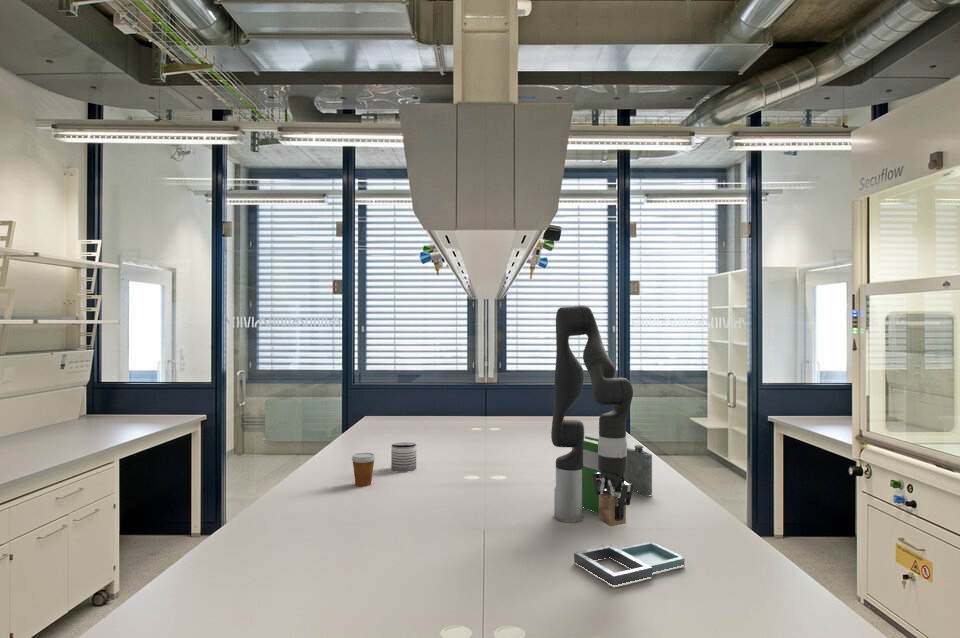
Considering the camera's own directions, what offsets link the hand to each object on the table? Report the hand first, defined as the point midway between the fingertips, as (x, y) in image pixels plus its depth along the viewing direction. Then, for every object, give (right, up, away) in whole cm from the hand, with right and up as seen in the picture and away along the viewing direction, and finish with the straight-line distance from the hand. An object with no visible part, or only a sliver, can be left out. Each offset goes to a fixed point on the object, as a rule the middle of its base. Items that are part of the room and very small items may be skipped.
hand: (612, 516), depth 156 cm
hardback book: (+6, -15, +53) cm, 55 cm away
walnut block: (0, -1, 0) cm, 1 cm away
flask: (+27, -15, +74) cm, 80 cm away
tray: (+12, -14, +6) cm, 19 cm away
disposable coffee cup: (-83, -15, +83) cm, 118 cm away
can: (-70, -15, +108) cm, 130 cm away
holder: (0, -14, 0) cm, 14 cm away
